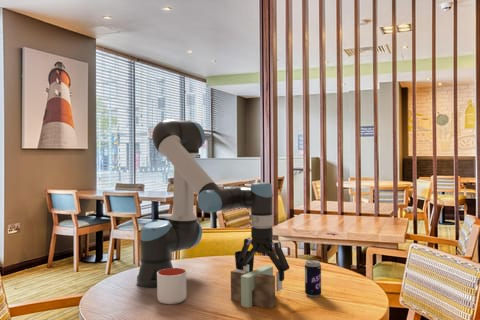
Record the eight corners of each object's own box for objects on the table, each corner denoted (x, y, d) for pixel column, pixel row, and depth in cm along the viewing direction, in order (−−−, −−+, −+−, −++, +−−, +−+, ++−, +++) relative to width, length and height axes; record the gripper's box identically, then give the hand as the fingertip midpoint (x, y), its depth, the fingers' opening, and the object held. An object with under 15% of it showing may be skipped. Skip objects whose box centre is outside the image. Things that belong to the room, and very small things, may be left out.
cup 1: (173, 307, 139) (172, 277, 139) (151, 302, 144) (150, 273, 144) (192, 298, 148) (191, 270, 147) (170, 293, 153) (170, 266, 153)
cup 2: (252, 287, 159) (252, 255, 159) (233, 286, 161) (232, 254, 160) (256, 280, 167) (255, 250, 166) (237, 280, 168) (236, 250, 168)
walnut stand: (230, 299, 146) (230, 270, 146) (235, 297, 148) (235, 268, 148) (270, 308, 137) (270, 278, 137) (275, 306, 139) (275, 276, 139)
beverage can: (311, 298, 146) (311, 264, 145) (301, 294, 151) (301, 260, 150) (324, 296, 148) (324, 262, 148) (314, 291, 153) (314, 258, 153)
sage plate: (248, 307, 138) (248, 277, 138) (241, 306, 140) (240, 276, 139) (273, 293, 151) (272, 266, 151) (266, 292, 153) (265, 265, 153)
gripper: (226, 225, 151) (227, 283, 152) (288, 231, 137) (289, 296, 138) (238, 222, 158) (239, 278, 158) (298, 228, 143) (299, 289, 144)
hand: (262, 286), depth 148 cm, fingers open, 13 cm apart
